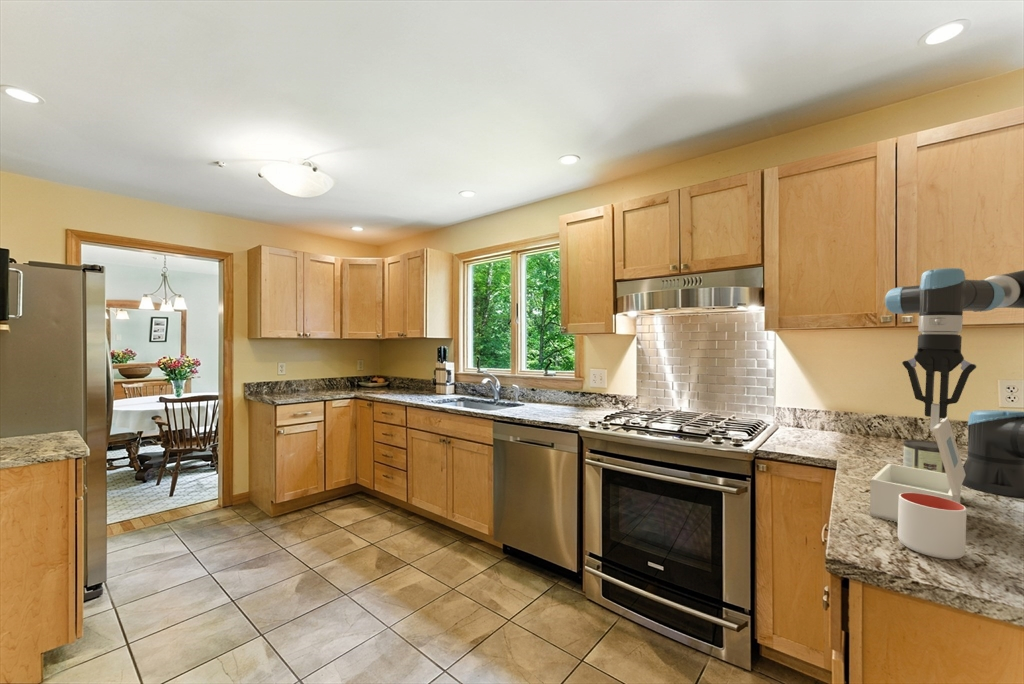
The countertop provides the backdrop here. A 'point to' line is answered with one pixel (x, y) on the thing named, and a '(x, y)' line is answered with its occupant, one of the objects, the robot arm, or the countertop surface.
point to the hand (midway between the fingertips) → (934, 430)
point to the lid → (949, 455)
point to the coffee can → (922, 455)
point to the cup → (932, 525)
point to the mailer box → (905, 488)
